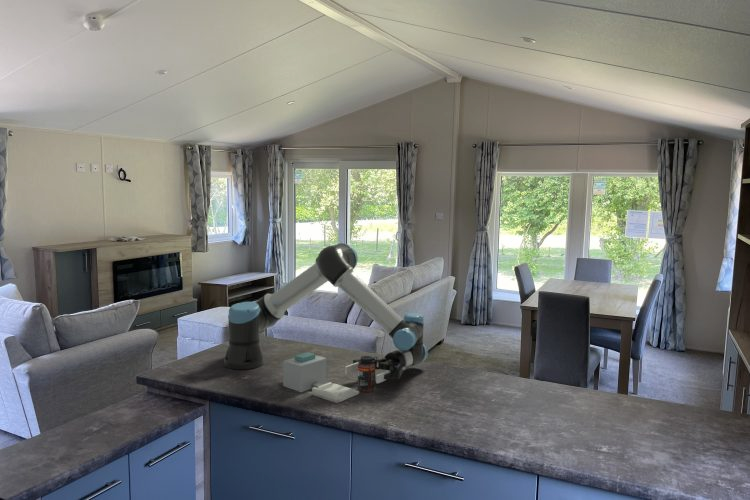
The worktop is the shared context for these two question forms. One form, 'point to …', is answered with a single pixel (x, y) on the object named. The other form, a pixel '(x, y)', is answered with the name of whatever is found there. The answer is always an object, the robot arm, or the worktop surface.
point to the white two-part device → (313, 378)
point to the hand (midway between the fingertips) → (361, 374)
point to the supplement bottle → (366, 374)
